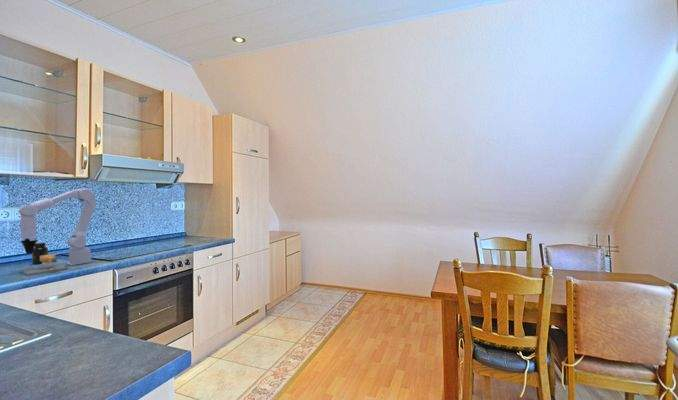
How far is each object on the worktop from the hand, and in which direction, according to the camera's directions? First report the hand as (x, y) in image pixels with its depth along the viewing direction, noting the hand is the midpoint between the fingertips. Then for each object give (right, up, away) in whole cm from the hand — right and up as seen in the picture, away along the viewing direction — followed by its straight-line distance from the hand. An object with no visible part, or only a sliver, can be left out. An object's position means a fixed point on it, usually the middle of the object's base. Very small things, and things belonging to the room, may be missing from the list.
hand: (29, 253), depth 163 cm
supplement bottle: (-12, -9, +19) cm, 24 cm away
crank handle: (+11, -4, 0) cm, 12 cm away
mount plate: (+8, -9, 0) cm, 12 cm away
